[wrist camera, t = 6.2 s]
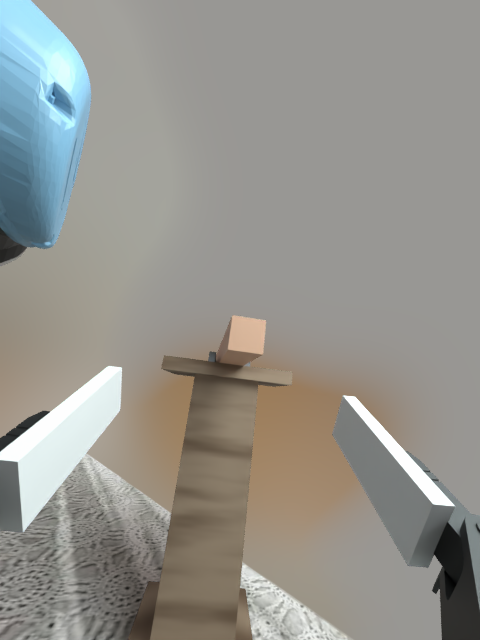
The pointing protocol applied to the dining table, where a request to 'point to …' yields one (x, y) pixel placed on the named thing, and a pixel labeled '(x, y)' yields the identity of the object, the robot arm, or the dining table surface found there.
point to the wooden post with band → (208, 509)
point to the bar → (242, 341)
